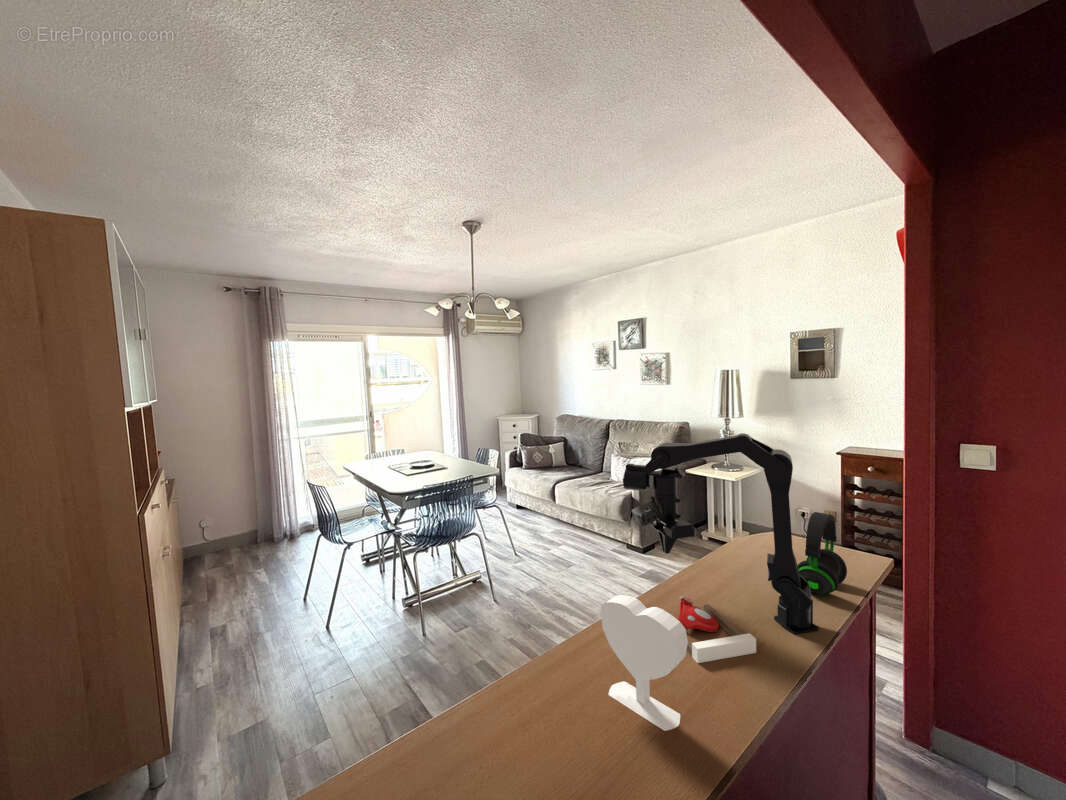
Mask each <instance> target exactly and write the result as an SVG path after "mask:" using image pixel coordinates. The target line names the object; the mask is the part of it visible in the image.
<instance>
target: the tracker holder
mask: <svg viewBox="0 0 1066 800" xmlns="http://www.w3.org/2000/svg"><path fill="white" fill-rule="evenodd" d="M679 600H680V603H679V615H678V618H677V620H678V621H680V622H681V624H682V625H683V626H684V628H685V629H686V631H688V630H689V629H690V630H691V629H693V630H695V629H696V630H697V629H698V630H701V631H704V632H709V633H716V632H718V630H719V626H720V625H719V624H718V622H717V620H716V619H715V618H714V617H713V616H712V615H711V614H709V613H708V612H706V611H705V610H704V608H701V607H698V606H696V605H694V601H693V600H692V599H691V598H689V597H686V596H682V595H681V596H680V597H679Z"/></svg>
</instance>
